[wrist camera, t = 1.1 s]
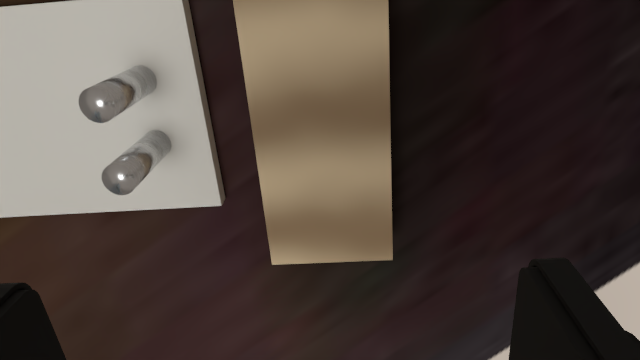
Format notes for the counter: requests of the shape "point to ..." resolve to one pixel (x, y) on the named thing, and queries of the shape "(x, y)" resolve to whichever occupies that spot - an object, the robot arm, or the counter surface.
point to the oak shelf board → (320, 125)
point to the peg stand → (103, 109)
